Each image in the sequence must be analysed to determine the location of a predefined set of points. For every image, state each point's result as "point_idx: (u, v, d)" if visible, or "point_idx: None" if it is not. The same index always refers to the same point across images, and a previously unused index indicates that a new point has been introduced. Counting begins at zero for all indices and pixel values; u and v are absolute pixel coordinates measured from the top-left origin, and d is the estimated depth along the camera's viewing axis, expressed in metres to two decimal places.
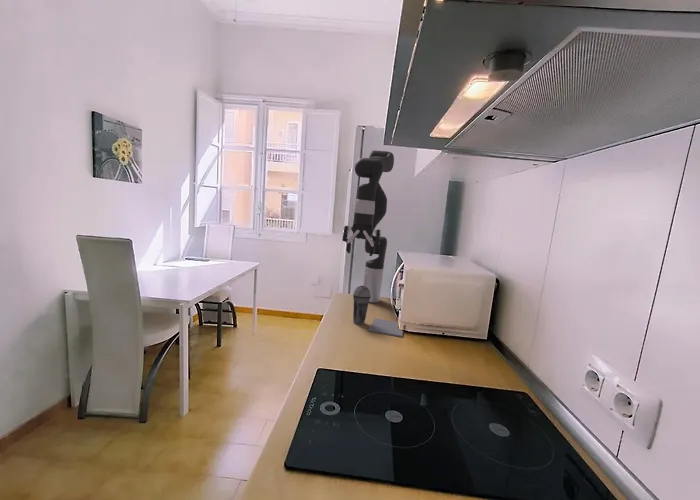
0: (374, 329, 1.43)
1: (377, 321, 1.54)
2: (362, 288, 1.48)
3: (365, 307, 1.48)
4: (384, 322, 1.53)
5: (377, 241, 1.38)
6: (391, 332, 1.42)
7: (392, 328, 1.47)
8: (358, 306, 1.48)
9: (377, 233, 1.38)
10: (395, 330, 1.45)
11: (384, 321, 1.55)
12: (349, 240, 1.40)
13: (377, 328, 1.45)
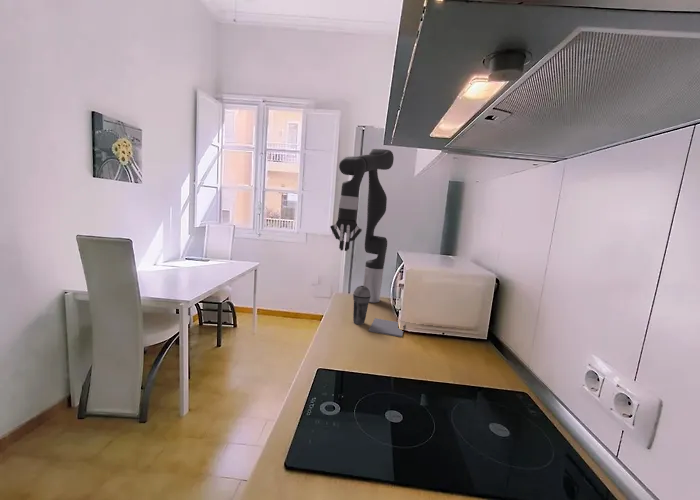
0: (374, 329, 1.43)
1: (377, 321, 1.54)
2: (362, 288, 1.48)
3: (365, 307, 1.48)
4: (384, 322, 1.53)
5: (353, 237, 1.47)
6: (391, 332, 1.42)
7: (392, 328, 1.47)
8: (358, 306, 1.48)
9: (357, 231, 1.46)
10: (395, 330, 1.45)
11: (384, 321, 1.55)
12: (342, 238, 1.48)
13: (377, 328, 1.45)
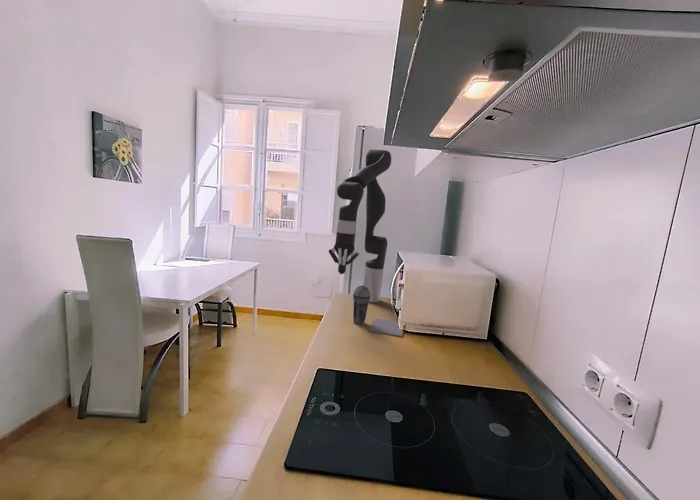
0: (374, 329, 1.43)
1: (377, 321, 1.54)
2: (362, 288, 1.48)
3: (365, 307, 1.48)
4: (384, 322, 1.53)
5: (349, 261, 1.48)
6: (391, 332, 1.42)
7: (392, 328, 1.47)
8: (358, 306, 1.48)
9: (354, 255, 1.48)
10: (395, 330, 1.45)
11: (384, 321, 1.55)
12: (341, 261, 1.49)
13: (377, 328, 1.45)
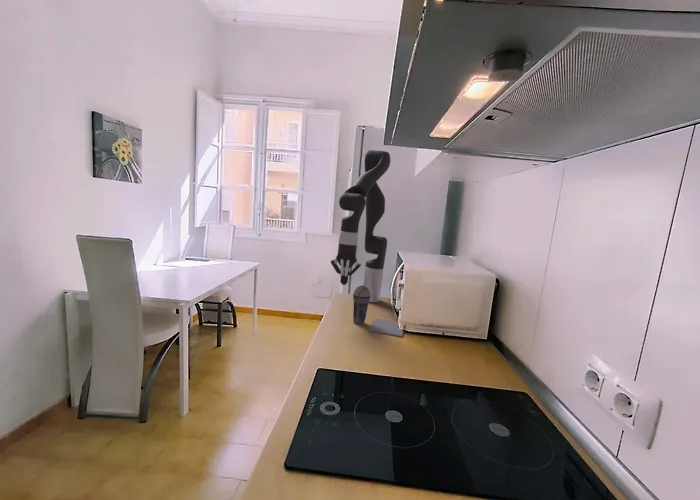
0: (374, 329, 1.43)
1: (377, 321, 1.54)
2: (362, 288, 1.48)
3: (365, 307, 1.48)
4: (384, 322, 1.53)
5: (352, 272, 1.49)
6: (391, 332, 1.42)
7: (392, 328, 1.47)
8: (358, 306, 1.48)
9: (356, 266, 1.48)
10: (395, 330, 1.45)
11: (384, 321, 1.55)
12: (343, 272, 1.49)
13: (377, 328, 1.45)
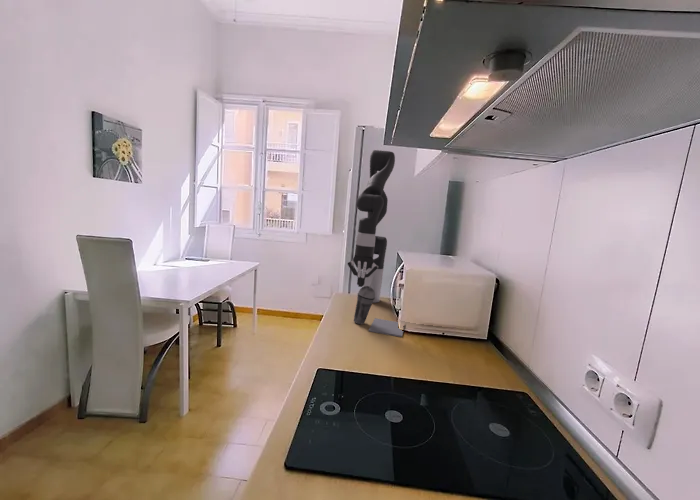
0: (374, 329, 1.43)
1: (377, 321, 1.54)
2: (368, 289, 1.47)
3: (368, 308, 1.48)
4: (384, 322, 1.53)
5: (369, 274, 1.47)
6: (391, 332, 1.42)
7: (392, 328, 1.47)
8: (361, 306, 1.47)
9: (374, 268, 1.46)
10: (395, 330, 1.45)
11: (384, 321, 1.55)
12: (360, 274, 1.48)
13: (377, 328, 1.45)
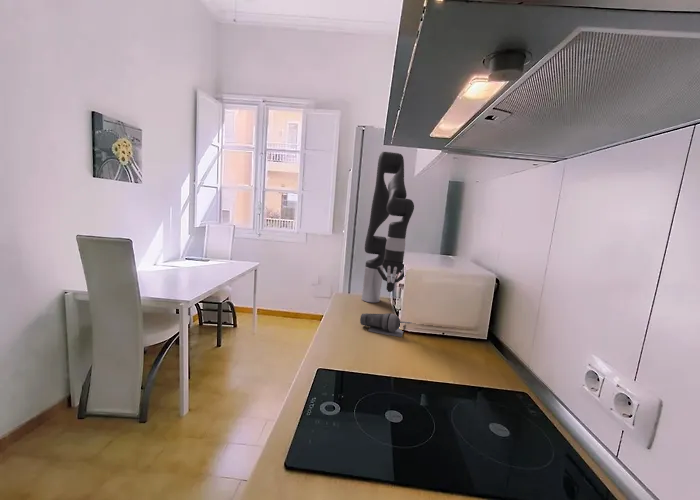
0: (374, 329, 1.43)
1: None
2: None
3: None
4: None
5: (399, 279, 1.45)
6: (391, 332, 1.42)
7: None
8: (379, 328, 1.44)
9: None
10: None
11: None
12: (389, 279, 1.45)
13: (377, 328, 1.45)
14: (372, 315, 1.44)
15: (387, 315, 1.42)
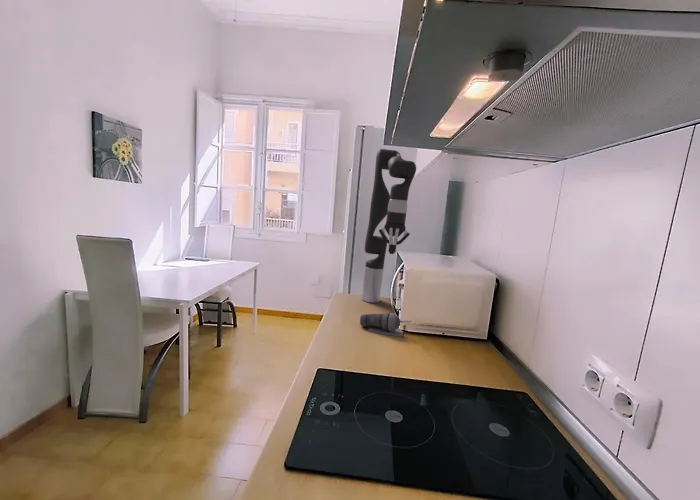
0: (374, 329, 1.43)
1: None
2: None
3: None
4: None
5: (401, 241, 1.46)
6: (391, 332, 1.42)
7: None
8: (379, 328, 1.44)
9: (406, 235, 1.46)
10: (395, 330, 1.45)
11: None
12: (391, 241, 1.47)
13: None
14: (372, 315, 1.45)
15: (387, 314, 1.42)
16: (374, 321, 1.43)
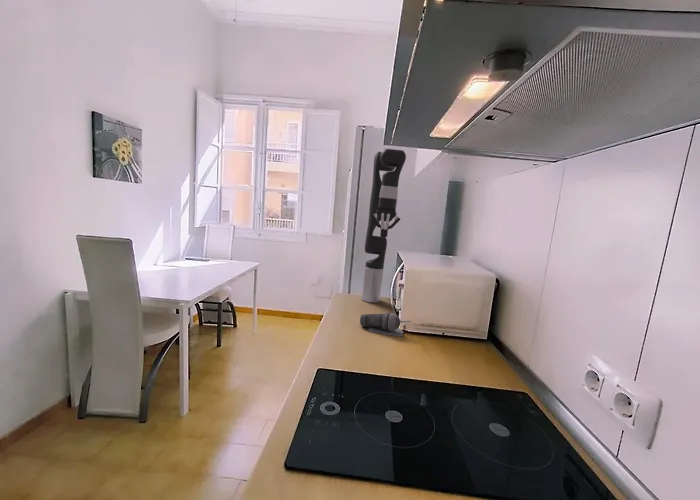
0: (374, 329, 1.43)
1: None
2: None
3: None
4: None
5: (392, 225, 1.55)
6: (391, 332, 1.42)
7: None
8: (379, 328, 1.44)
9: (396, 220, 1.54)
10: (395, 330, 1.45)
11: None
12: (383, 226, 1.56)
13: None
14: (372, 315, 1.45)
15: (387, 314, 1.42)
16: (374, 321, 1.43)
